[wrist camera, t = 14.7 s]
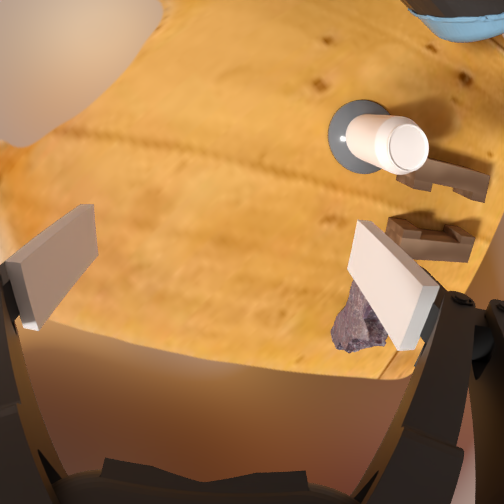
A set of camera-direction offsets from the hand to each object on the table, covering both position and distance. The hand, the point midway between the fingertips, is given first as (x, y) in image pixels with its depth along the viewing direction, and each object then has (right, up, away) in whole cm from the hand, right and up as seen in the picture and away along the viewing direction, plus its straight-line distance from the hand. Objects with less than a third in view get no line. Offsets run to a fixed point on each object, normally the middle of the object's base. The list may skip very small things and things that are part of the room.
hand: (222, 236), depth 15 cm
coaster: (+16, +14, +24) cm, 32 cm away
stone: (+18, -8, +34) cm, 40 cm away
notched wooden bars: (+28, +6, +28) cm, 40 cm away
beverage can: (+16, +14, +23) cm, 32 cm away
